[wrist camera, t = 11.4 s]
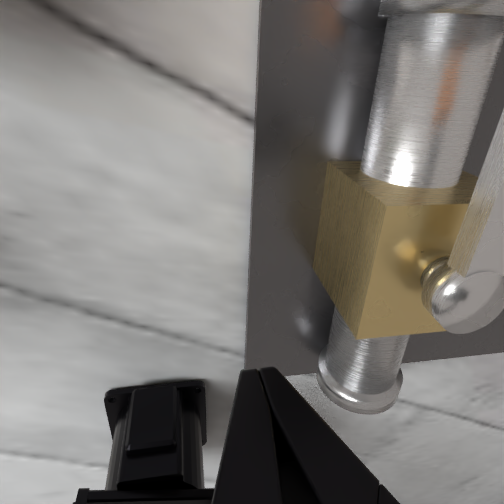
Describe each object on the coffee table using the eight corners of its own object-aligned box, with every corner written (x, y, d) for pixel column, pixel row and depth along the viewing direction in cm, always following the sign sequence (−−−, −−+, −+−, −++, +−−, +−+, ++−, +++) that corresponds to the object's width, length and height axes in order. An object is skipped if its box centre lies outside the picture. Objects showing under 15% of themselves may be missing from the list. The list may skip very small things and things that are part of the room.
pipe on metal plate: (514, 347, 30) (604, 426, 23) (244, 376, 26) (264, 480, 20) (701, -22, 18) (975, -58, 12) (262, -67, 14) (327, -154, 8)
